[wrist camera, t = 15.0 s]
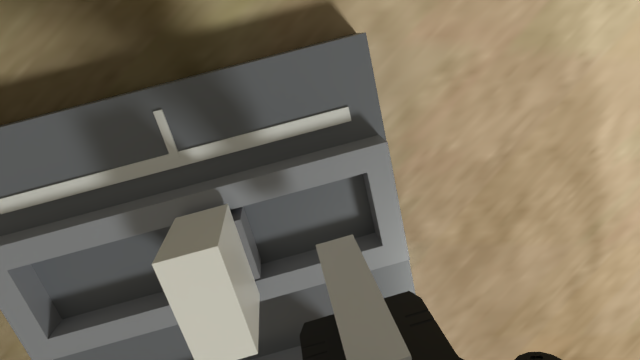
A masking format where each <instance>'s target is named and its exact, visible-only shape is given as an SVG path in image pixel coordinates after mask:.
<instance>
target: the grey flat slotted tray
mask: <svg viewBox="0 0 640 360" xmlns="http://www.w3.org/2000/svg"><path fill="white" fill-rule="evenodd" d="M225 204H228V206H229V208H230V210H232V209H235V208H239V207H244V210H245V213H246V216H247V219H248V222H249V225H250V228H251V231H252V234H253V237H254V240H255V243H256V246H257V249H258V252H259V255H260V258H261V277H260V278H259V279H255V283H256V286H257V289H258V291H259V294H260V303H259V337H258V354H256V355H252V356H249V357H245V358H242V359H238V360H303V358H302V351H301V350H302V349H301V343H300V336H299V335H300V333H301V330H302V328H303V325H304V323H305V322H309V321H312V320H315V319H319V318H322V317H326V316H329V315H332V314H334V312H333V308H332V305H331V301H330V297H329V293H328V290H327V286H326V282H325V279H324V275H323V271H322V267H321V264H320V260H319V256H318V253H317V249H316V245H317V244H321V243H324V242H328V241H331V240H335V239H338V238H342V237H345V236H349V235H352V234H353V236H354V238H355V240H356V242H357V244H358V246H359V248H360V250H361V252H362V255H363V257H364V259H365V261H366V263H367V265H368V267H369V269H370V271H371V273H372V275H373V277H374V280H375V282H376V284H377V286H378V288H379V290H380V292H381V294H382V296H383V298H386V297H390V296H393V295H396V294H400V293H403V292H407V291H410V292H412V293H414V294H415V289H414V284H413V278H412V273H411V268H410V263H409V260H410V259H409V253H408V248H407V243H406V238H405V232H404V227H403V222H402V217H401V211H400V206H399V201H398V195H397V190H396V185H395V180H394V174H393V169H392V164H391V159H390V153H389V148H388V143H387V141H386V137H385V131H384V126H383V121H382V116H381V110H380V105H379V100H378V95H377V89H376V84H375V79H374V74H373V68H372V63H371V58H370V53H369V47H368V42H367V37H366V33H355V34H352V35H348V36H344V37H340V38H336V39H332V40H328V41H325V42H321V43H317V44H313V45H309V46H305V47H301V48H298V49H294V50H290V51H286V52H282V53H278V54H274V55H271V56H267V57H263V58H259V59H255V60H251V61H247V62H244V63H240V64H236V65H232V66H228V67H224V68H220V69H217V70H213V71H209V72H205V73H201V74H197V75H193V76H190V77H186V78H182V79H178V80H174V81H170V82H166V83H163V84H159V85H155V86H151V87H147V88H143V89H139V90H136V91H132V92H128V93H124V94H120V95H116V96H112V97H109V98H105V99H101V100H97V101H93V102H89V103H85V104H82V105H78V106H74V107H70V108H66V109H62V110H58V111H55V112H51V113H47V114H43V115H39V116H35V117H31V118H28V119H24V120H20V121H16V122H12V123H8V124H4V125H1V126H0V309H1V311H2V313H3V314H4V316H5V317H6V319H7V321H8V322H9V324H10V325H11V327H12V329H13V330H14V332H15V333H16V335H17V337H18V338H19V340H20V342H21V343H22V345H23V346H24V348H25V350H26V351H27V353H28V354H29V356H30V358H31V359H32V360H194V358H193V356H192V354H191V351H190V349H189V347H188V345H187V342H186V340H185V338H184V336H183V334H182V331H181V329H180V327H179V325H178V322H177V320H176V318H175V316H174V313H173V311H172V309H171V307H170V304H169V302H168V300H167V298H166V295H165V293H164V291H163V289H162V286H161V284H160V282H159V280H158V277H157V275H156V273H155V271H154V268H153V266H152V262H153V261H154V259H155V257H156V255H157V253H158V251H159V249H160V247H161V245H162V243H163V241H164V239H165V237H166V235H167V233H168V231H169V229H170V227H171V225H172V224H173V222H174V220H175V218H177V217H181V216H184V215H188V214H192V213H196V212H199V211H203V210H207V209H210V208H214V207H218V206H221V205H225ZM415 295H416V294H415Z"/></svg>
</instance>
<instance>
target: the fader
mask: <svg viewBox="0 0 640 360" xmlns="http://www.w3.org/2000/svg"><path fill="white" fill-rule="evenodd" d="M152 266H153V268H154V271H155V273H156V275H157V277H158V280H159V282H160V284H161V286H162V289H163V291H164V293H165V295H166V298H167V300H168V302H169V304H170V307H171V309H172V311H173V313H174V316H175V318H176V320H177V322H178V325H179V327H180V329H181V331H182V334H183V336H184V338H185V340H186V342H187V345H188V347H189V349H190V351H191V354H192V356H193V358H194V360H238V359H242V358H245V357H249V356H252V355H256V354H258V337H259V303H260V294H259V291H258V289H257V286H256V283H255V279H259V278H260V277H261V258H260V255H259V252H258V249H257V246H256V243H255V240H254V237H253V234H252V231H251V228H250V225H249V222H248V219H247V216H246V213H245V210H244V207H239V208H235V209H232V210H230V208H229V206H228V204H225V205H221V206H218V207H214V208H210V209H207V210H203V211H199V212H196V213H192V214H188V215H184V216H181V217H177V218H175V220H174V222H173V224H172V225H171V227H170V229H169V231H168V233H167V235H166V237H165V239H164V241H163V243H162V245H161V247H160V249H159V251H158V253H157V255H156V257H155V259H154V261H153V262H152Z"/></svg>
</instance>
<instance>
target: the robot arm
mask: <svg viewBox="0 0 640 360" xmlns="http://www.w3.org/2000/svg"><path fill="white" fill-rule="evenodd" d="M316 249H317V253H318V256H319V260H320V264H321V267H322V271H323V275H324V279H325V282H326V286H327V290H328V293H329V297H330V301H331V305H332V308H333V312H334V314H332V315H329V316H326V317H322V318H319V319H315V320H312V321H309V322H305V323H304V325H303V328H302V330H301V333H300V335H299V336H300V343H301V349H302V350H301V351H302V358H303V360H463V359H461V358H459V357H458V355H457V354H456V353H455V351H454V350H453V348H452V347H451V345H450V343H449V342H448V340H447V339H446V337H445V335H444V334H443V332H442V331H441V329H440V327H439V326H438V324H437V323H436V321H435V320H434V318H433V316H432V315H431V313H430V312H429V311H428V308H427V307H426V305H425V304H424V302H423V300H422V299H421V298H420V297H418V296H417V295H415V294H414V293H412V292H410V291H407V292H403V293H400V294H396V295H393V296H390V297H386V298H383V296H382V294H381V292H380V290H379V288H378V286H377V284H376V282H375V280H374V277H373V275H372V273H371V271H370V269H369V267H368V265H367V263H366V261H365V259H364V257H363V255H362V252H361V250H360V248H359V246H358V244H357V242H356V240H355V238H354V236H353V234H352V235H349V236H345V237H342V238H338V239H335V240H331V241H328V242H324V243H321V244H317V245H316ZM515 360H561V359H559V358H558V357H556V356H554V355H551V354H547V353H543V352H528V353H525V354H522V355H519V356H518V357H517V358H516V359H515Z"/></svg>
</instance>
